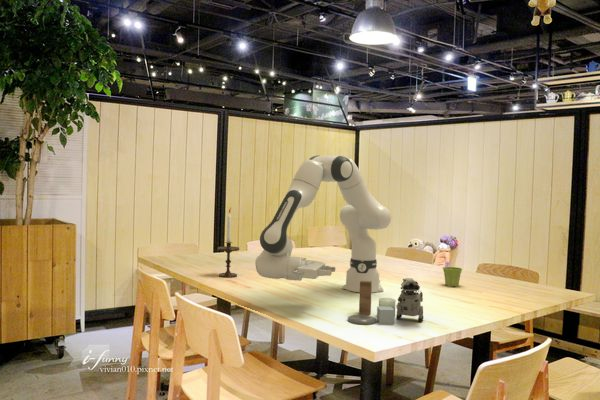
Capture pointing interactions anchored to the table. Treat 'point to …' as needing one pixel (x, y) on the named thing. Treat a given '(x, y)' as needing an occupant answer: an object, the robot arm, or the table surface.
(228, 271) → the candlestick
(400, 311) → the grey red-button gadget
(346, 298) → the table surface
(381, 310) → the bluegrey cube
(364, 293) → the walnut block
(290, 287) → the table surface
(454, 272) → the plant pot
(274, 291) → the table surface
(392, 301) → the pale green cylinder
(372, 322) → the slate coaster
